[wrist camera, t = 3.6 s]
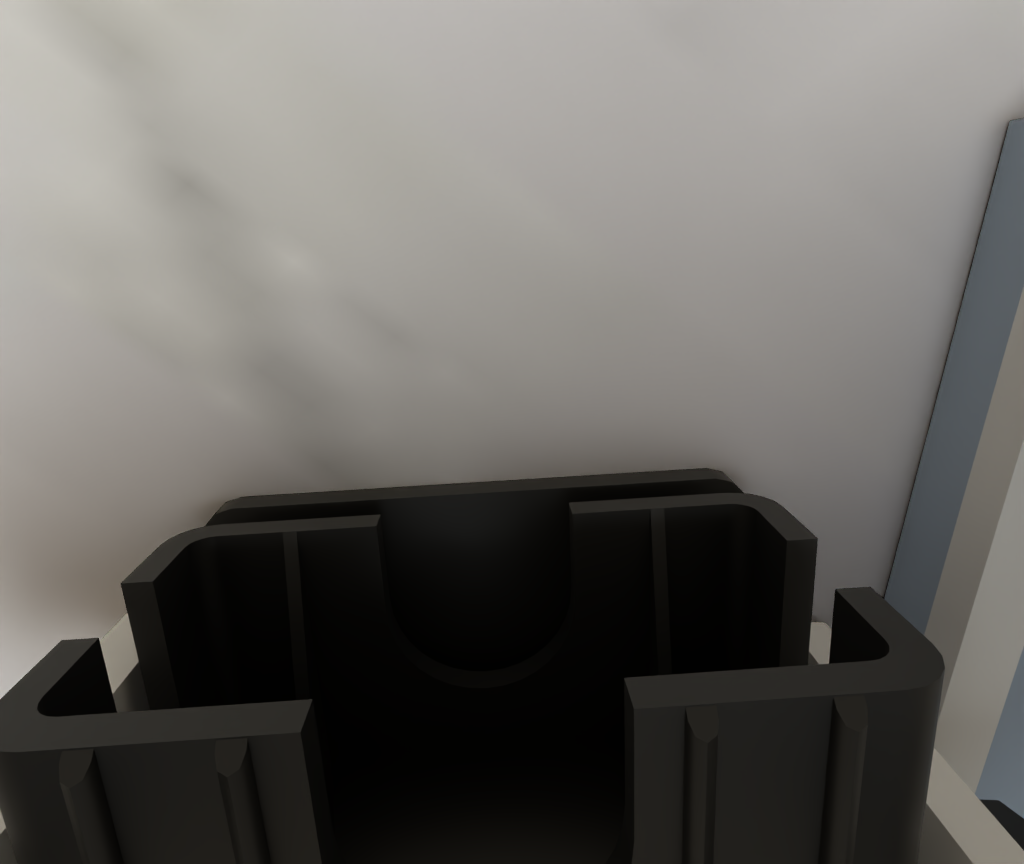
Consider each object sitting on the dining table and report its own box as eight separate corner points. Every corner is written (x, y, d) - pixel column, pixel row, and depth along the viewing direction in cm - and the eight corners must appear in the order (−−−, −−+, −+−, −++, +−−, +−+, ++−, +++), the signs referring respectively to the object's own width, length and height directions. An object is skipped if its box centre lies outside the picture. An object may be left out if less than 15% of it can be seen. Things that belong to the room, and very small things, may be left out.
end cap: (247, 831, 14) (36, 1366, 7) (182, 497, 12) (-190, 823, 5) (746, 794, 14) (974, 1282, 7) (763, 461, 12) (1093, 730, 6)
